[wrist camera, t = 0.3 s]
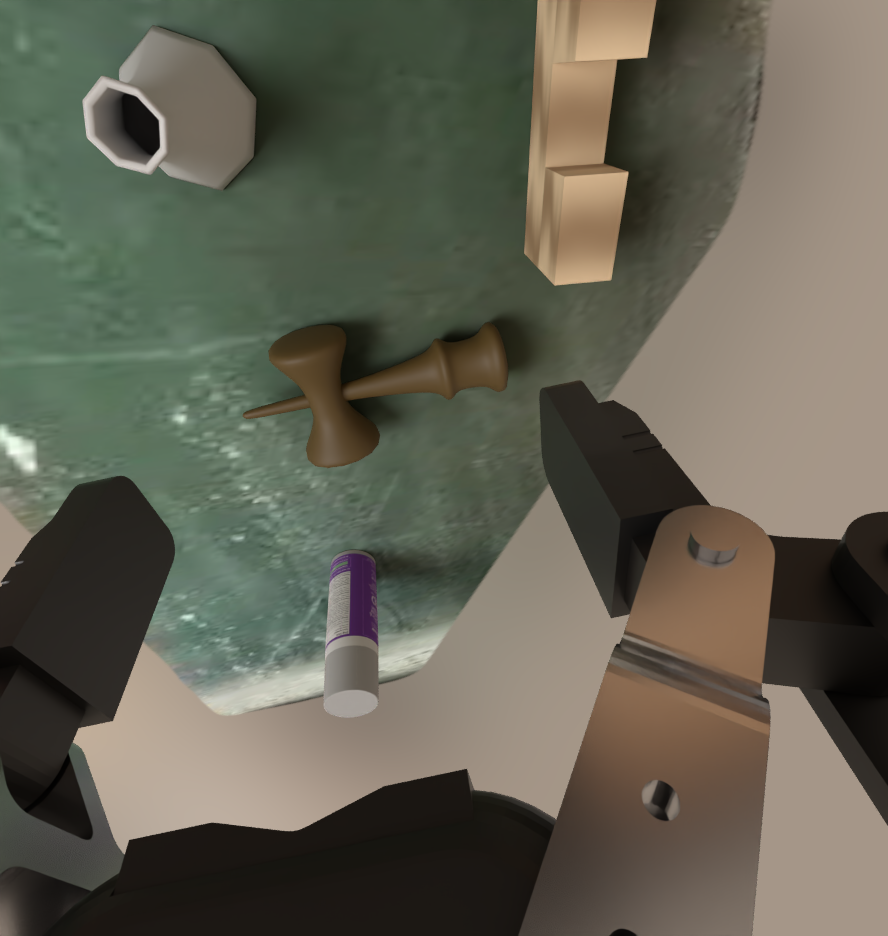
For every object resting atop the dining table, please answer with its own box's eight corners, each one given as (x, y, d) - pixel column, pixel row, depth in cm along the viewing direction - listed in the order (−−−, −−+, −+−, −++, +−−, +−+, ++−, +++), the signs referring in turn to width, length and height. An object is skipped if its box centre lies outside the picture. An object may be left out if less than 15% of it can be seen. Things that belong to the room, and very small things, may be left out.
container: (384, 565, 53) (391, 702, 41) (351, 585, 54) (349, 723, 43) (355, 542, 50) (353, 682, 39) (321, 564, 52) (309, 706, 40)
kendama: (500, 392, 43) (272, 446, 42) (486, 279, 37) (222, 340, 36) (519, 428, 38) (262, 489, 37) (507, 305, 32) (203, 376, 32)
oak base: (541, -79, 25) (592, -123, 20) (608, -81, 25) (676, -125, 20) (524, 253, 35) (554, 285, 30) (572, 249, 35) (611, 280, 30)
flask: (279, 93, 28) (247, 98, 20) (232, 212, 31) (189, 256, 23) (140, -8, 25) (39, -49, 17) (104, 135, 28) (5, 157, 20)
